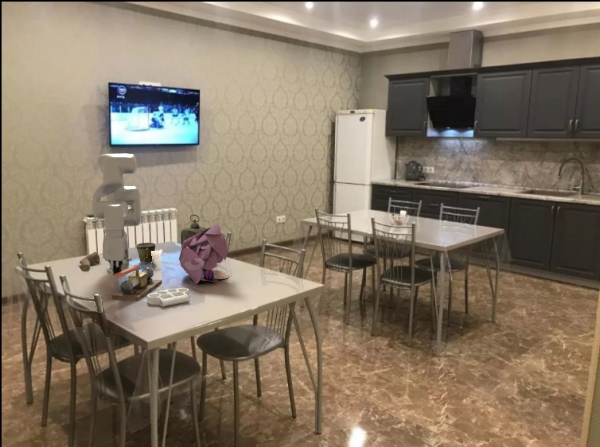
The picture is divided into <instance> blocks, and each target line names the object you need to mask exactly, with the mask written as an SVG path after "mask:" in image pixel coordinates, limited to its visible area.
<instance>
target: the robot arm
mask: <svg viewBox="0 0 600 447" xmlns="http://www.w3.org/2000/svg"><path fill="white" fill-rule="evenodd" d="M97 164H98V168H99V169H100V171H101V172H102V183H101V184H100V185H99V186H98V187H97V188H96V189H95V191H94V193H93V195H92V201H91V202H92V215H93V217H94V218H96V219H98V220H101V219H102V220H104V229H103V233H104V234H105V235H104V236H103V238H102V239H103V240H102V258H103V259H104V260H105V261H106V262H108V263H109V265H108V266H106V271H108V272H112V274H113V275H112V276H113V277H114V274H116V273H118V272H121V271H123V270H126V269H128V268H131V267H133V264H130V262H131V261H132V257H131V256H130V257H129V254H130V253H129V238H128V234H127V231H126V230H125V227H139V226H140V225H141V223H142V206H141V205H142V204H141V193H140V190H139V188H138V187H136V186H125V185H124V182H125V180H124V175H126V174H127V175H131V174H135V173H136V172H137V168H138V164H137V158H136V156H135V154H133V153H130V154H129V153H105V154H104V153H103V154H100V155H99V156H98V157H97ZM104 197H106V200H102V199H103V198H104Z"/></svg>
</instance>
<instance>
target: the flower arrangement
mask: <svg viewBox="0 0 600 447" xmlns="http://www.w3.org/2000/svg"><path fill="white" fill-rule="evenodd" d="M220 226H221V225H220V224H219V223H214V224H213V225H212V226H210V227H208V228H207V229H206V230H204V231H203V232H200V233H198V234H197V235H195V236H193V237H191V238H189V239H187V240H185V241H184V242H183V245H182V247H181V250H180V253H179V257H178V260H179V264H180V267H181V268H182V269H183V270H184V272H185V273H186V274H187V276H189V277H190V279H191V280H192V281H193V283H195V285H198V284H199V282H200V281H206V282H214V283H216V282H217V281H219V280H222V279H223V280H224V279H229V277H230V274H227V273H226V272H223V271H222V270H219V269H215V268H216V266H217V264H221V263H222V262H223V260H224V261H226V259H227V257H228V244H227V240H226V238H225V235H224V234H222V232H221V228H220Z"/></svg>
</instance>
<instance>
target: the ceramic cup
mask: <svg viewBox="0 0 600 447" xmlns="http://www.w3.org/2000/svg"><path fill="white" fill-rule="evenodd" d="M156 245H157V244H156V243H155V242H139V243H137V244H136V245H135V247H136V251H137V255H138V258H139V262H140V265H149V264H150V263H151V262H152V256H151V251H156ZM151 264H152V263H151Z"/></svg>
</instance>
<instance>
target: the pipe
mask: <svg viewBox="0 0 600 447" xmlns="http://www.w3.org/2000/svg"><path fill="white" fill-rule="evenodd" d="M99 263H101V258H100V255H99V253H98V252H96V251H93V252H92V253H90V254H88V255H86V256H85V257H83V258H82V259H81V260H80V261H79V264H80V265H81V267H82V269H83V270H84V271H89V270H90V268H91V265H95V264H99Z"/></svg>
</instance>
